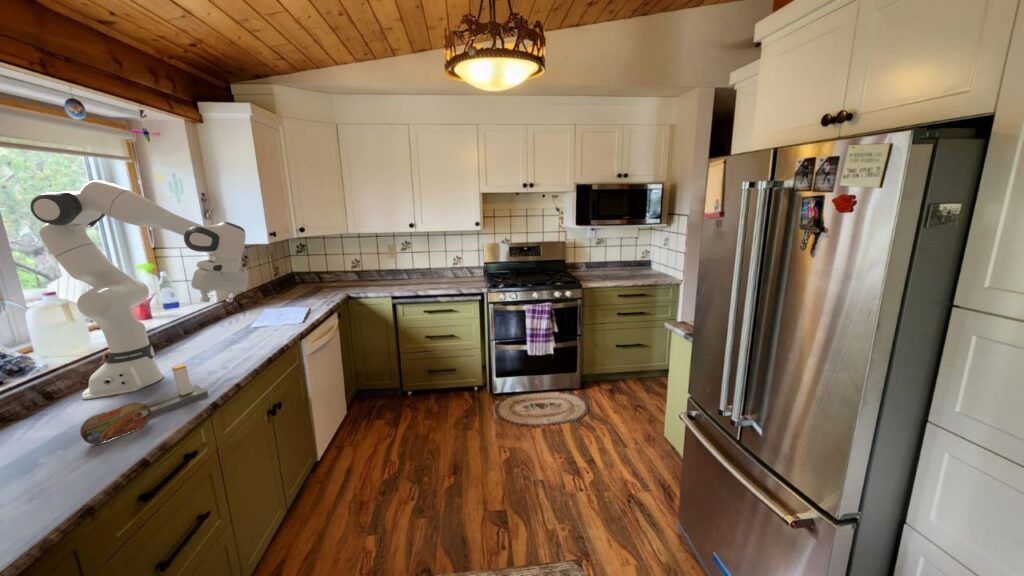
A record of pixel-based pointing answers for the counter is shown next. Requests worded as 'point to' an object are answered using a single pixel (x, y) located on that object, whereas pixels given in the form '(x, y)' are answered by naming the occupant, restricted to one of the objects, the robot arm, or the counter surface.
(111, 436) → the tin
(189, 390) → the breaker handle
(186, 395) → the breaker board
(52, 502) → the counter surface
